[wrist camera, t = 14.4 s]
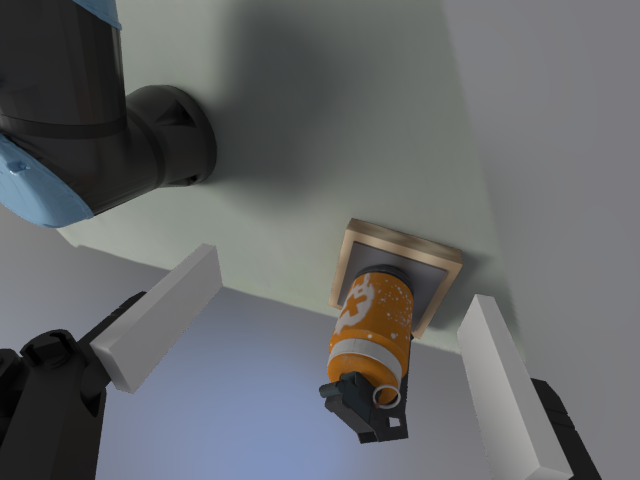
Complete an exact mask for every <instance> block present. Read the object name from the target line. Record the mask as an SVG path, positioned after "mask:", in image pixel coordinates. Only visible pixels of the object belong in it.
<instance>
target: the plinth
mask: <svg viewBox="0 0 640 480" xmlns="http://www.w3.org/2000/svg"><path fill="white" fill-rule="evenodd" d="M374 265H382V266H388V267H391V268H394V269H396V270H398V271H400V272H401V273H403V274H404V275H405V276H406V277H407V278H408V279H409V280H410V282H411V284H412V286H413V289H414V299H413V311H412V323H411V333H412V335H413V337H415V338H418V339H420V338H421V337H422V335H423V333H424V331H425V330H426V328H427V326H428V324H429V323H430V321H431V319H432V318H433V316H434V314H435V312H436V311H437V309H438V307H439V305H440V304H441V302H442V300H443V299H444V297H445V295H446V293H447V292H448V290H449V288H450V286H451V285H452V283H453V281H454V280H455V278H456V276H457V274H458V273H459V271H460V269H461V267H462V266H463V261H462V255H461V250H457V249H454V248H451V247H447V246H444V245H441V244H437V243H434V242H430V241H427V240H424V239H420V238H417V237H414V236H410V235H407V234H404V233H400V232H397V231H394V230H390V229H387V228H384V227H380V226H377V225H374V224H370V223H367V222H364V221H360V220H357V219H354V218H352V219H351V221H350V222H349V224H348V226H347V228H346V231H345V236H344V240H343V244H342V248H341V252H340V257H339V261H338V265H337V269H336V273H335V278H334V282H333V286H332V290H331V295H330V299H329V303H328V305H329V306H331V307H334V308H337V309H339V310H342V308H343V306H344V303H345V301H346V298H347V295H348V293H349V290H350V288H351V285H352V282H353V280H354V277H355V276H356V274H357V273H358V272H359V271H360V270H362V269H364V268H366V267H369V266H374Z"/></svg>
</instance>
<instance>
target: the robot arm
mask: <svg viewBox="0 0 640 480" xmlns="http://www.w3.org/2000/svg"><path fill="white" fill-rule="evenodd" d="M120 30H122V27H121V24H120V23H119V21H118V15H117V9H116V1H115V0H0V202H1V203H2V204H3V205H4V206H6V207H7V208H8V209H10V210H11V211H12V212H14V213H15V214H17V215H19V216H20V217H22V218H24V219H25V220H27V221H29V222H31V223H33V224H36V225H39V226H42V227H46V228H61V227H65V226H68V225H70V224H73V223H76V222H79V221H82V220H84V219H90V218H93V217H94V216H96V215H98V214H101V213H103V212H105V211H107V210H109V209H112V208H114V207H116V206H118V205H120V204H123V203H125V202H127V201H129V200H131V199H134V198H136V197H138V196H140V195H142V194H145V193H147V192H149V191H151V190H154V189H156V188H164V187H185V186H191V185H194V184H196V183H198V182H200V181H202V180H204V179H206V178H207V177H208V176H209V175H210V174H211V172H212V170H213V168H214V166H215V162H216V143H215V138H214V135H213V131H212V129H211V126H210V124H209V122H208V120H207V118H206V116H205V115H204V113H203V112H202V110H201V109H200V108H199V106H198V105H197V104H196V103H195V102H194V101H193V100H192V99H191V98H190V97H189V96H188V95H186V94H185V93H184V92H182V91H180V90H179V89H177V88H174V87H172V86H168V85H150V86H145V87H142V88H139V89H137V90H136V91H134V92H132V93H131V94H129V95H127V96H125V88H124V77H123V64H122V51H121V38H120ZM222 285H223V284H222V278H221V272H220V267H219V261H218V255H217V249H216V246H214V245H209V244H202V245H201V246H200V247H198V248H197V249H196V250H195V251H194V252H193V253H192V254H191V255H189V256H188V257H187V258H186V259H185V260H184V261H183V262H181V263H180V264H179V265H178V266H177V267H176V268H175V269H173V270H172V271H171V272H170V273H169V274H168V275H167V276H166V277H164V278H163V279H162V280H161V281H160V282H159V283H158V284H156V285H155V286H154V287H153V288H152V289H151V290H150V291H149V292H143V291H142V292H140V293H138V294H136V295H134V296H133V297H131V298H129V299H128V300H127V301H125V302H124V303H123V304H122V305H121V306H119V308H118V309H116V310H115V311H114V312H112V313H111V315H110V316H107V317H106V318H105V319H104V320H103V321H102V322H100V323H99V324H98V325H97V326H96V327H94V328H93V329H92V330H91V331H90V332H88V333H87V334H86V335H85V336H84V337H83V338H81V339H80V340H79V341H78V342H76V341H75V339H74V338H73V336H72V335H71V333H69V332H68V331H67V330H63V329H58V330H51V331H49V332H46V333H43V334H41V335H39V336H37V337H35V338H33V339H32V340H30V341H29V342H28V343H27V344H26V345H24V347H23V348H22V349H21V351H20V354H21V355H22V356H23V357H19V356H18V354H17V353H16V352H15V351H14V350H12V349H0V480H95V475H96V468H97V460H98V453H99V446H100V438H101V431H102V424H103V415H104V409H105V402H106V395H107V393H106V388H105V387H106V386H107V385H108V384H109V382H110V381H111V380H112V382H113V384H114V385H115V387H116V389H118V390H121V391H125V392H128V393H132V394H134V393H135V392H136V390H137V389H138V388H139V386H140V385H141V384H142V383H143V382H144V381H145V379H146V378H147V377H148V376H149V374H150V373H151V372H152V371H153V369H154V368H155V367H156V366H157V365H158V363H159V362H160V361H161V360H162V358H163V357H164V356H165V355H166V354H167V352H168V351H169V350H170V349H171V347H172V346H173V345H174V344H175V342H176V341H177V340H178V339H179V338H180V336H181V335H182V334H183V333H184V331H185V330H186V329H187V328H188V327H189V325H190V324H191V323H192V322H193V320H194V319H195V318H196V317H197V316H198V314H199V313H200V312H201V311H202V310H203V308H204V307H205V306H206V305H207V303H208V302H209V301H210V300H211V299H212V297H213V296H214V295H215V294H216V292H217V291H218V290H219V289H220V288H221V286H222ZM457 337H458V342H459V346H460V350H461V354H462V358H463V362H464V366H465V370H466V375H467V379H468V383H469V387H470V391H471V395H472V399H473V403H474V407H475V412H476V416H477V420H478V424H479V428H480V432H481V436H482V440H483V445H484V449H485V452H486V457H487V461H488V465H489V469H490V473H491V477H492V480H602V479H601V477H600V475H599V473H598V471H597V469H596V467H595V465H594V464H593V462H592V460H591V458H590V456H589V454H588V452H587V450H586V448H585V446H584V444H583V442H582V440H581V438H580V436H579V434H578V433H577V431H575V427H574V425H573V423H572V421H571V419H570V417H569V416H568V415H567V414H568V413H567V411H566V409H565V407H564V405H563V403H562V401H561V399H560V397H559V396H558V395H557V394H556V393H555V391H554V390H553V389H552V388H551V387H550V386H549V385H548V384H547V382H546V381H542V380H537V379H533V378H530V377H529V375H528V372H527V370H526V368H525V366H524V363H523V361H522V359H521V357H520V355H519V352H518V350H517V348H516V346H515V343H514V341H513V339H512V337H511V335H510V332H509V330H508V328H507V326H506V323H505V321H504V319H503V317H502V315H501V312H500V310H499V308H498V306H497V303H496V301H495V299H494V297H491V296H485V295H480V294H475V296H474V298H473V300H472V302H471V305H470V307H469V309H468V311H467V313H466V315H465V317H464V319H463V321H462V323H461V326H460V328H459V330H458V332H457Z"/></svg>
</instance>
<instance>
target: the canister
mask: <svg viewBox="0 0 640 480" xmlns="http://www.w3.org/2000/svg"><path fill="white" fill-rule="evenodd" d="M413 299H414V289H413V286H412V284H411V282H410V280H409V279H408V278H407V277H406V276H405V275H404V274H403V273H401V272H400V271H398V270H396V269H394V268H391V267H388V266H382V265H374V266H369V267H366V268H364V269H362V270H360V271H359V272H358V273H357V274H356V276H355V277H354V280H353V282H352V285H351V288H350V290H349V293H348V295H347V298H346V301H345V303H344V306H343V308H342V311H341V314H340V316H339V319H338V322H337V324H336V327H335V329H334V332H333V335H332V338H331V340H330V343H329V352H330V357H329V360H328V363H327V370H328V376H329V379H330V381H331V383H329V384H325V385H322V386H321V387H320V388H319V392H320V394H321V396H322V397H323V398H326V397H327V398H326V401H325V407H326V408H327V409H328V410H329V411H330V412H334V413H335V414H336V415H337V416H338V417H339V418H340V419H342V420H343V421H344V422H345V423H346V424H347V425H348V426H349V427H350V428H351V429H353V430H354V431H355V432H356V433H357V435H358V438H359V441H360V443H361V444H362V443H370V442H377V441H378V442H382V441H390V440H398V439H405V438H408V431H407V423H406V415H405V407H406V402H407V400H406V399H407V388H408V386H407V384H408V371H409V359H410V347H411V340H412V339H414V337H413V335H412V333H411V323H412V311H413ZM389 417H392V418H398V419H399V422H400V426H396V427H390V422H389Z"/></svg>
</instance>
